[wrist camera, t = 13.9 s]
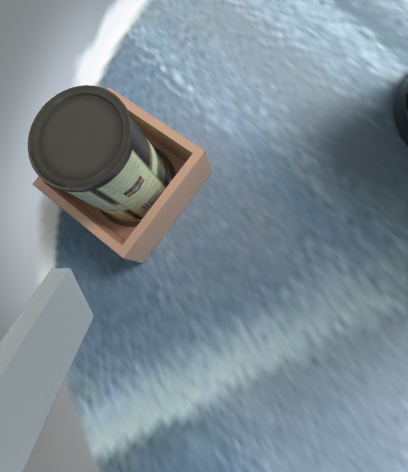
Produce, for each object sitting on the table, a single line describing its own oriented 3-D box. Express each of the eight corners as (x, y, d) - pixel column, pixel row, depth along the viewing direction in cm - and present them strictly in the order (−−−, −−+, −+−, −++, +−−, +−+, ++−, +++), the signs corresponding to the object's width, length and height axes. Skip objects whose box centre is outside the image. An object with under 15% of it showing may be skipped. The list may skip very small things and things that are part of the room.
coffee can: (112, 141, 45) (49, 75, 31) (181, 158, 43) (146, 95, 29) (87, 211, 43) (10, 174, 30) (157, 232, 41) (108, 202, 28)
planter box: (129, 115, 46) (108, 87, 39) (212, 171, 42) (204, 150, 36) (63, 199, 45) (32, 184, 39) (143, 263, 42) (123, 258, 35)
